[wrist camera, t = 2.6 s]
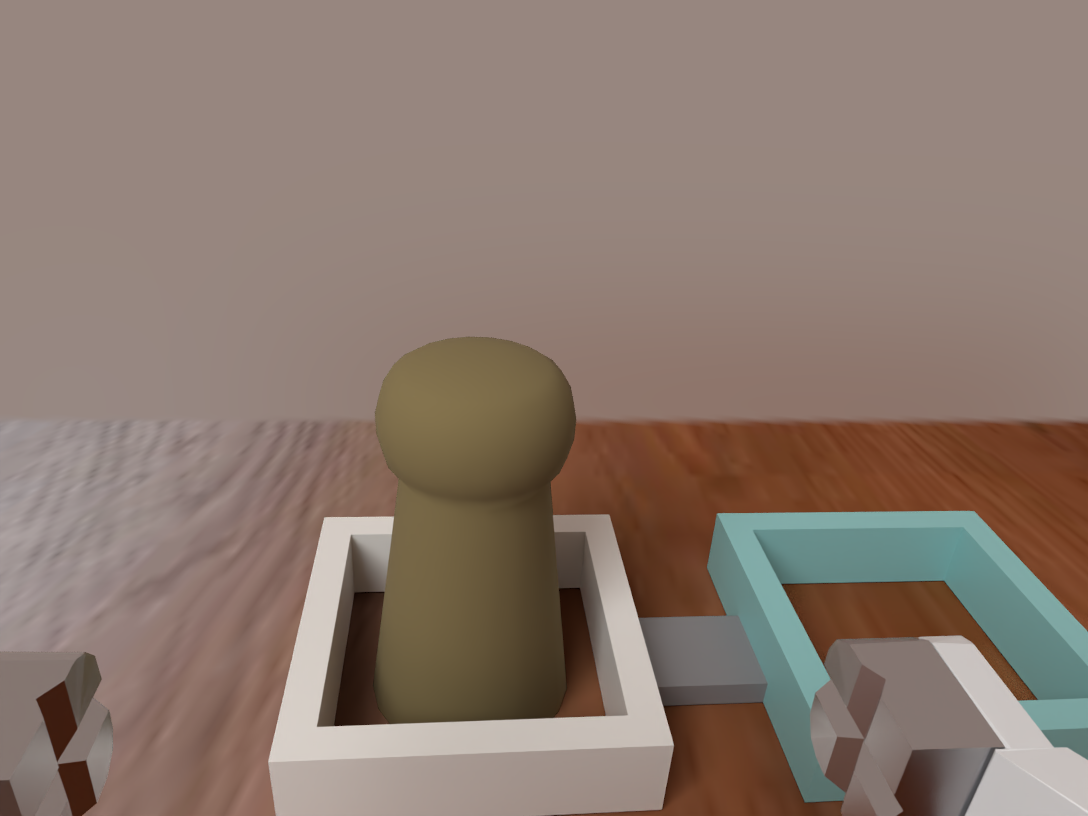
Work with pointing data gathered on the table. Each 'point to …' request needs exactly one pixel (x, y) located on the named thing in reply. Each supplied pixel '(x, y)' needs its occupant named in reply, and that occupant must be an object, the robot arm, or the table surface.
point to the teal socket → (887, 556)
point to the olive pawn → (472, 533)
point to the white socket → (500, 745)
